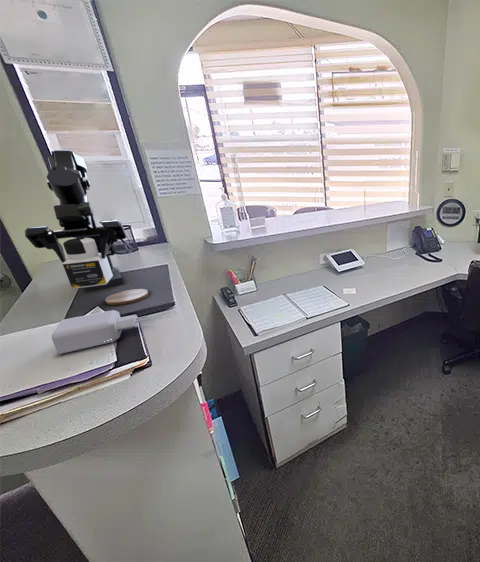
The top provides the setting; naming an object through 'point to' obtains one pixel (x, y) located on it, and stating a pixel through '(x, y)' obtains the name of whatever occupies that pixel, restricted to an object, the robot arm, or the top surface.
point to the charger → (91, 330)
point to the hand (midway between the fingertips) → (84, 260)
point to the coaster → (126, 296)
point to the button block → (112, 282)
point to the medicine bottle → (85, 264)
